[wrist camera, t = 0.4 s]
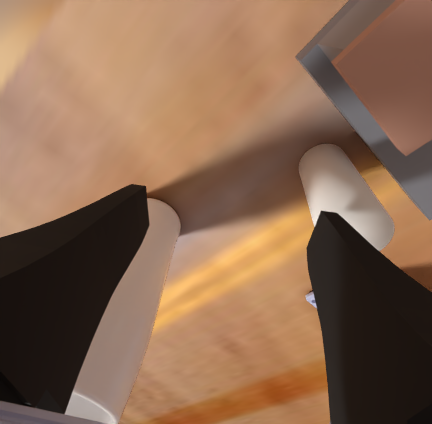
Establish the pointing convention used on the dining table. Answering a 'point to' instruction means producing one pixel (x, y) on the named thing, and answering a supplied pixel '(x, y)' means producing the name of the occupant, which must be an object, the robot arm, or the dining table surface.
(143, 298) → the cream rounded cylinder
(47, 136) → the dining table surface
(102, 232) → the robot arm
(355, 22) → the socket station
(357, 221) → the peg
